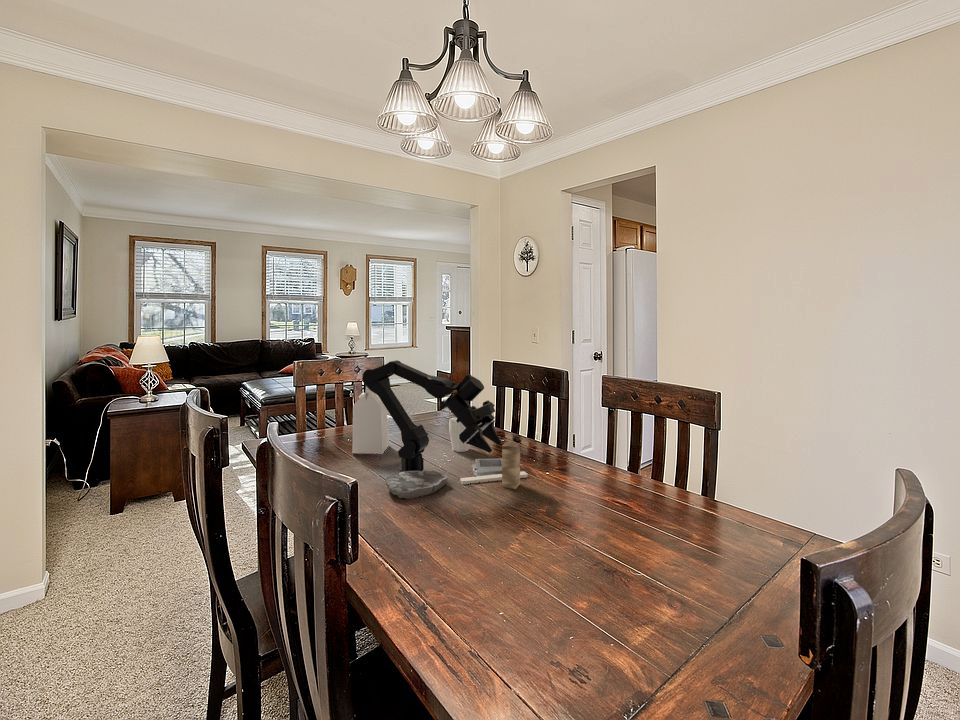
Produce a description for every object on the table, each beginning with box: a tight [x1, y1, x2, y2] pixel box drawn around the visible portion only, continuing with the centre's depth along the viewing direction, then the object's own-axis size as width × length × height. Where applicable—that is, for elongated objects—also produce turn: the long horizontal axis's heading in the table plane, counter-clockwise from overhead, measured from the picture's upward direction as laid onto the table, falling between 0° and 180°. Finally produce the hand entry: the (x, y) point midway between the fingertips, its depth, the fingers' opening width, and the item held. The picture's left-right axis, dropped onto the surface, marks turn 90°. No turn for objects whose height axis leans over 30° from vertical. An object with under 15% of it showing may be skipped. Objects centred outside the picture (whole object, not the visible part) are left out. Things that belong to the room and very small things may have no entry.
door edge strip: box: [459, 471, 529, 485], centre depth 157 cm, size 22×3×1 cm, turn 107°
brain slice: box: [384, 470, 449, 500], centre depth 149 cm, size 20×17×3 cm
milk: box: [351, 385, 390, 455], centre depth 189 cm, size 12×12×26 cm
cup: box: [448, 416, 471, 453], centre depth 190 cm, size 9×9×12 cm
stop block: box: [501, 441, 521, 490], centre depth 151 cm, size 5×5×13 cm
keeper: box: [471, 457, 502, 477], centre depth 166 cm, size 12×11×3 cm
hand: (495, 447), depth 152 cm, fingers open, 9 cm apart
